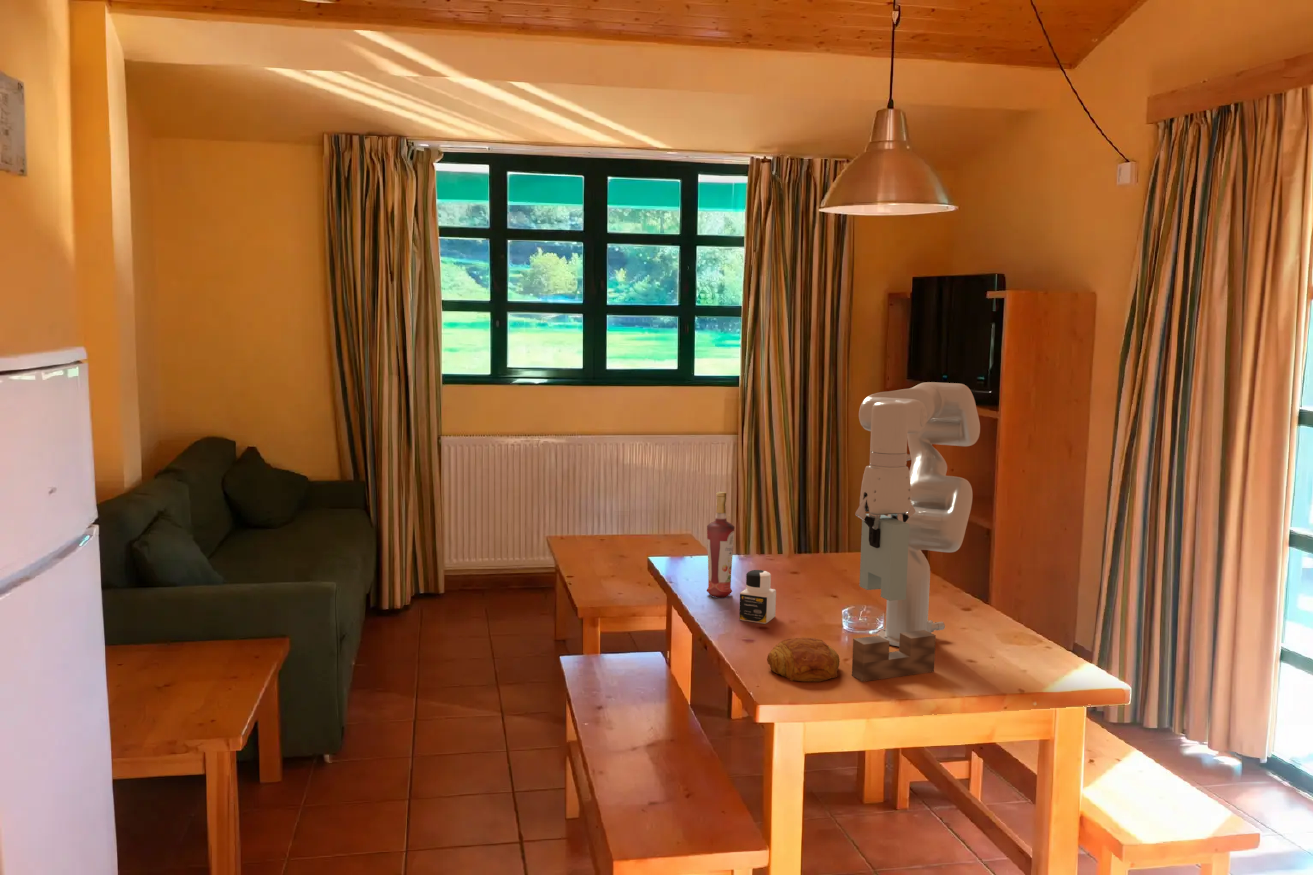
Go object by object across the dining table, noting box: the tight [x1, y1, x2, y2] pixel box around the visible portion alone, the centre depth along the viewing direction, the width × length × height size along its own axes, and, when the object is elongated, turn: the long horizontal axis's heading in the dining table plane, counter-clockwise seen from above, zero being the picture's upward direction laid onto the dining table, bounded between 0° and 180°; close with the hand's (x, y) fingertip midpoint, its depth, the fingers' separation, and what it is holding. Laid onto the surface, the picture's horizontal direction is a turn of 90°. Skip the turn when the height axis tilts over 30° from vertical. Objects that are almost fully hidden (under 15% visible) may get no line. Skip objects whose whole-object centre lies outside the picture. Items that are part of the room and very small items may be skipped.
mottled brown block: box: [851, 630, 937, 683], centre depth 224 cm, size 18×4×8 cm, turn 112°
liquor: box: [706, 491, 735, 599], centre depth 281 cm, size 7×7×28 cm
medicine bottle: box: [738, 569, 777, 625], centre depth 262 cm, size 7×7×12 cm
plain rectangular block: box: [858, 513, 909, 601], centre depth 224 cm, size 12×4×16 cm, turn 19°
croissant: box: [766, 637, 841, 683], centre depth 225 cm, size 14×16×8 cm
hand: (884, 545), depth 223 cm, fingers closed on plain rectangular block, 4 cm apart
